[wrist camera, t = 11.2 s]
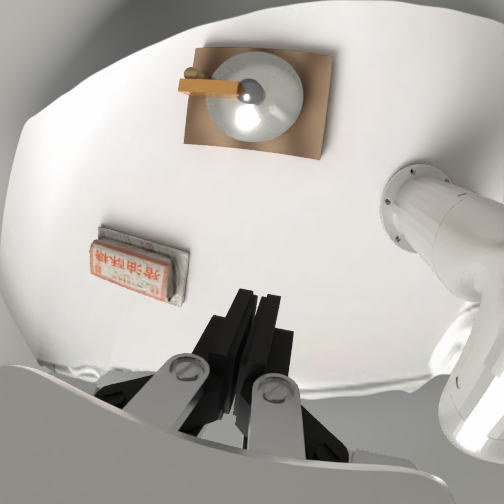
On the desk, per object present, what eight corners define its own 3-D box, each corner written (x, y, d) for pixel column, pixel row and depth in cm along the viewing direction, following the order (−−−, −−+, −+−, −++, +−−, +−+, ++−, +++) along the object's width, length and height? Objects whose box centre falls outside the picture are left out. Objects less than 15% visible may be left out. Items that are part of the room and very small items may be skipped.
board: (331, 60, 30) (336, 44, 24) (319, 159, 36) (321, 162, 29) (201, 51, 33) (180, 37, 26) (189, 143, 38) (166, 144, 32)
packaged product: (87, 284, 46) (85, 233, 42) (102, 273, 50) (102, 224, 46) (173, 318, 44) (178, 263, 40) (185, 303, 49) (191, 251, 45)
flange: (310, 61, 29) (309, 48, 24) (294, 149, 34) (292, 150, 29) (203, 51, 31) (187, 39, 26) (188, 134, 35) (171, 133, 31)
